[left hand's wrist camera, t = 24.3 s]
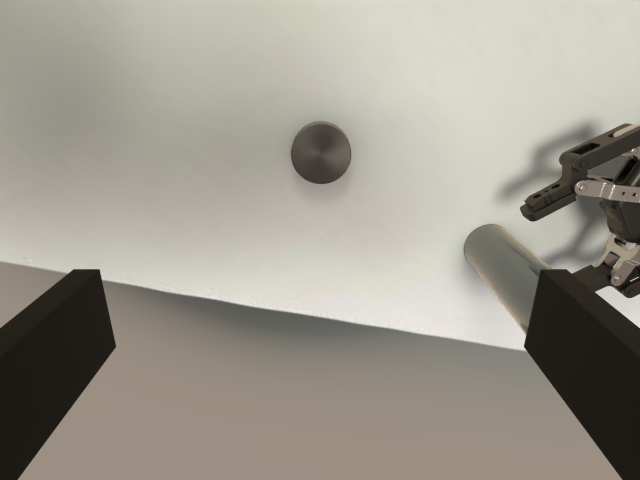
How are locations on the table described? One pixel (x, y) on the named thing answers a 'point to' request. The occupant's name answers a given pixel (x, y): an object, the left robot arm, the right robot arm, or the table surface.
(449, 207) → the table surface
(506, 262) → the grey cylinder
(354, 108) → the table surface
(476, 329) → the table surface
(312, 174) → the lid
